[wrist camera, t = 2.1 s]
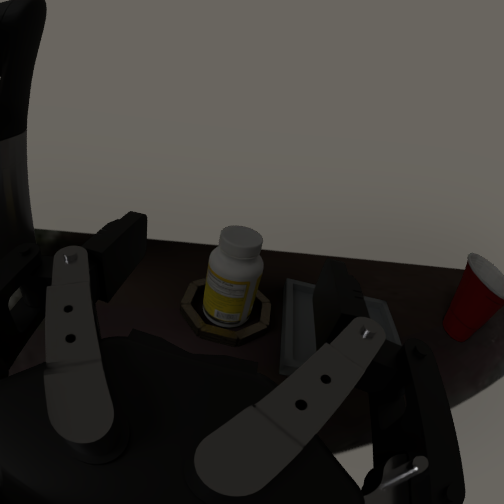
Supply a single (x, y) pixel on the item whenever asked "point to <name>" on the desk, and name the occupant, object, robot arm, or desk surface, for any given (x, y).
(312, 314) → the tray
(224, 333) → the ring collar
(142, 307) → the desk surface
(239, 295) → the supplement bottle
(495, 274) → the plastic cup
